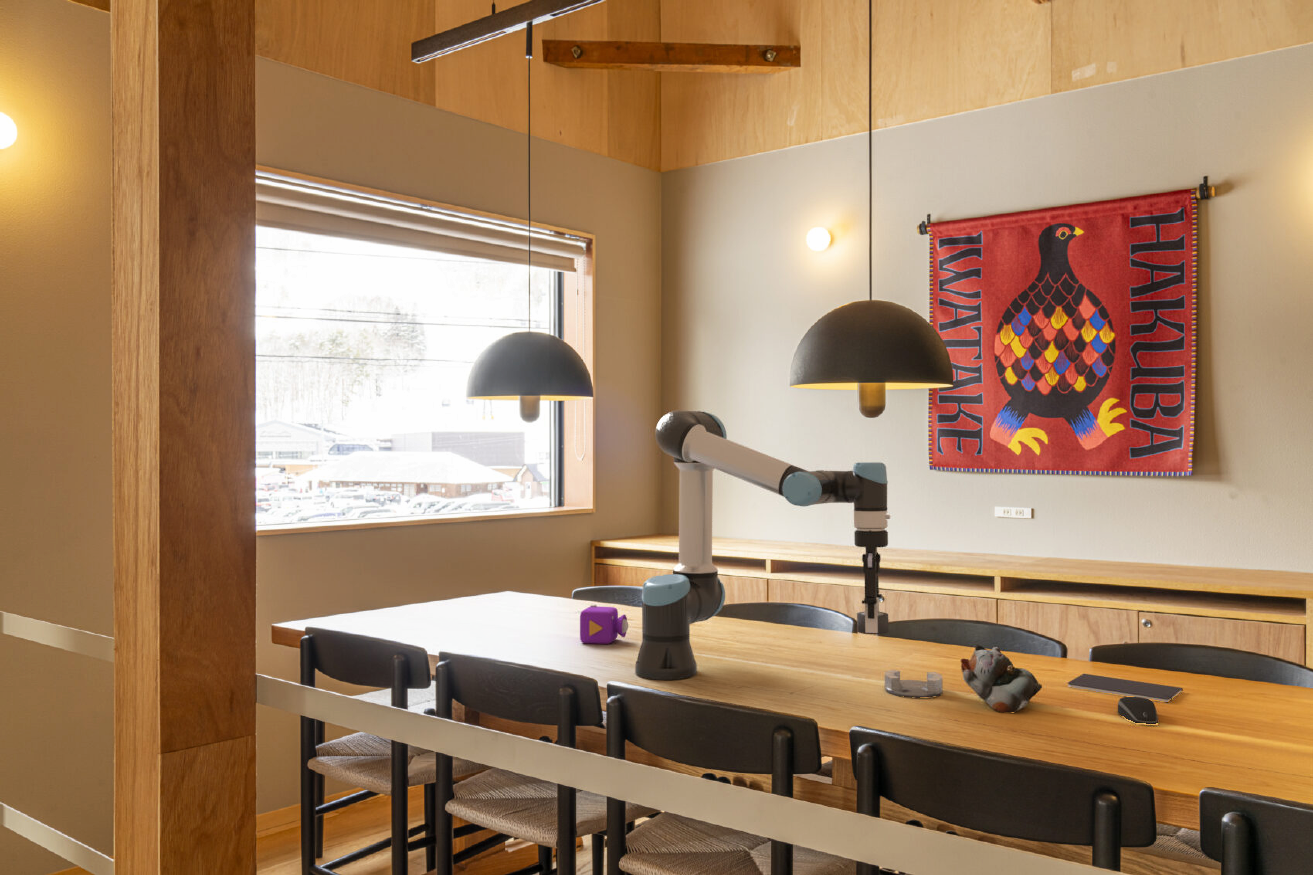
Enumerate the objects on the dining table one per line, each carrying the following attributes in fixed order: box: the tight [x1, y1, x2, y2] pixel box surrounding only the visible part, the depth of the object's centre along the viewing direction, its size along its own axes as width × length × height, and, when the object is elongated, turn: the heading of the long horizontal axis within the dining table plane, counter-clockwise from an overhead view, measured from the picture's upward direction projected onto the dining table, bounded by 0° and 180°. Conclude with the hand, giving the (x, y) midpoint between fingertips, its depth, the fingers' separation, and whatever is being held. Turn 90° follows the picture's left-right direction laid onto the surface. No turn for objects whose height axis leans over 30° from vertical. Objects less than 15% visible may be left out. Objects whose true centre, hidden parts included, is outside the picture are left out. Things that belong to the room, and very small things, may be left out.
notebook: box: [1066, 673, 1184, 702], centre depth 215 cm, size 13×2×21 cm
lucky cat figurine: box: [960, 644, 1043, 713], centre depth 203 cm, size 15×12×14 cm
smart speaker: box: [856, 611, 890, 635], centre depth 217 cm, size 7×7×4 cm
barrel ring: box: [884, 669, 943, 699], centre depth 215 cm, size 13×13×4 cm
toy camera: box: [579, 604, 629, 645], centre depth 271 cm, size 11×14×10 cm
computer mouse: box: [1117, 696, 1159, 724], centre depth 193 cm, size 7×12×4 cm, turn 168°
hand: (872, 629), depth 217 cm, fingers closed on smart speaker, 7 cm apart
